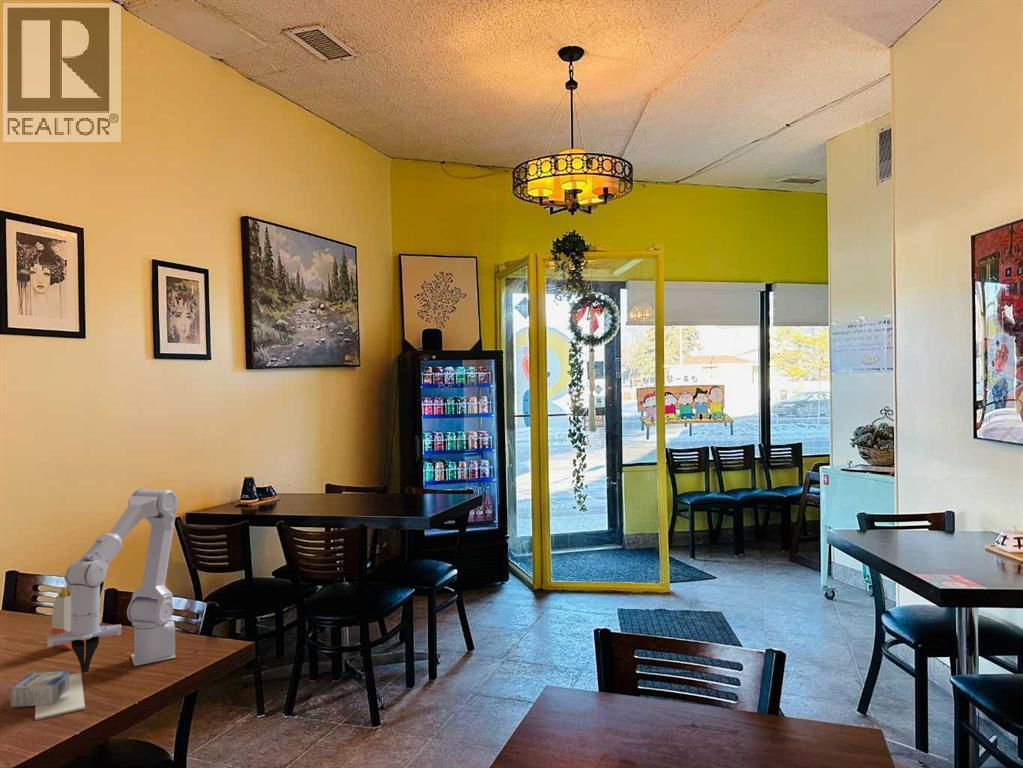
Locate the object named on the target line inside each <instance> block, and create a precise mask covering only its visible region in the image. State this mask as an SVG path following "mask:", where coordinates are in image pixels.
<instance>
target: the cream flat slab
mask: <svg viewBox="0 0 1023 768" xmlns="http://www.w3.org/2000/svg"><path fill="white" fill-rule="evenodd" d="M85 704H86V703H85V694H84V686H83V678H82V673H81V672H78V673H73V674H69V690H67V691H66V692H65V693H64V694H63V695H62V696H60V697H59V698H58V699H57V700H56V701H55V702H54V703H53V704H50V705H36V706H35V713H34V714H35V715H34V721H40V720H44V719H48V718H53V717H57V716H62V715H67V714H71V713H75V712H79V711H84V710H86V705H85Z"/></svg>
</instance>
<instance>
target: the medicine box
mask: <svg viewBox="0 0 1023 768" xmlns="http://www.w3.org/2000/svg"><path fill="white" fill-rule="evenodd" d="M69 675H70V671H69V670H65V671H47V672H31V673H29V674H27V675H25V677H23V678H22V679H20V681H18V682H17V683H15V684H14V685H13V686H11V687H10V693H9V697H10V698H9V699H10V707H11V708H18V707H20V708H21V707H33V706H34V707H36V705H50V704H53V703H54V702H55V701H56V700H57V699H58V698H59V697H60V696H62V695H63V694H64V693H65V692H66V691H67V690H69Z"/></svg>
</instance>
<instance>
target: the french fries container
mask: <svg viewBox="0 0 1023 768" xmlns="http://www.w3.org/2000/svg"><path fill="white" fill-rule="evenodd" d="M52 607H53V608H52V616H51V617H52V619H51V631H50V632H51V634H50V636H53V635H57V634H61V633H65V632H69V631H71V593H70V591H69V586H68V584H67V583H66V587H65V588H63V587H62V588H61V591H59V592H57V595H56V596H55V599H54V601H53V606H52ZM84 645H85V646H86V640H84ZM55 646H56V647H57V648H60V649H65V650H72V651H74V650H73V649H72V644H71V643H65V644H59V645H55Z"/></svg>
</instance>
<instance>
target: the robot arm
mask: <svg viewBox="0 0 1023 768" xmlns="http://www.w3.org/2000/svg"><path fill="white" fill-rule="evenodd" d="M178 501H179V497H178V496H177V495H176V493H175V492H174V491H173V490H171V489H150V488H149V489H146V488H137V489H135V490H134V492H132V494H131V496H130V497H128V499H127V508H126V509H125V510H124V511H123V513H122V514H121V516H120V517H119V519H118V520H117V521H116V523H115V524H114V526H113V527H112V528H111V529H110V532H108V533H103V534H101V535H99V536H98V537H97V538H96V539H95V542H93V544H92V545H91V546H90V548H89V549H88V550H87V551H86V552H85V554H83V556H82V557H81V558H80V559H78V560H75V561H73V562H72V563H71V564H70V565H69V566H68V567H67V569H66V572H65V574H64V576H63V577H64V582H65V583H66V585H67V584H68V586H69V591H70V593H71V631H69V632H65V633H61V634H57V635H53V636H51V635H48V636H46V637H47V638H46V639H47V640H46V643H47V644H46V645H47V646H46V647H47V648H52V647H54V646H56V645H59V644H65V643H71V644H72V649H73V650H72V649H71V650H72V651H73V652H74V654H75V656H76V658H77V660H78V662H79V666H80V673H81V674H84V673H89V670H90V665H91V661H92V659H93V656H94V654H95V652H96V650H97V648H98V646H99V643H100V640H99V638H105V637H110V636H115V635H116V636H121V635H122V624H121V623H120V624H114V625H111V624H110V625H100V620H101V619H100V618H101V617H100V616H101V611H100V609H101V606H100V605H101V595H100V594H101V584H102V583H103V582H104V581H105V579H106V578H107V577H106V576H107V573H108V570H109V568H110V564H111V563H112V561H113V560H114V559H115V557H117V555H118V554H119V553H120V552H121V550H122V549H123V541H124V539H125V538H126V537H127V536H128V535H129V534H130V532H131V531H132V530H133V529H134V528H135V527H136V526H137V525H138V524H139V523H140V522H141V521H142V520H143V519H145V520H147V522H148V523H149V524H150V526H151V528H150V534H149V538H148V539H149V540H148V546H147V551H146V559H145V564H144V571H143V576H142V583H141V586H140V587H138V589H136V590H135V591H134V592H133V593H132V594H131V596H132V597H131V600H130V602H129V604H128V606H127V608H126V610H127V611H126V615H127V619H128V620H129V621H130V622H131V626H133V627H134V644H133V645H134V648H133V649H134V650H133V651H134V653H133V654H131V655H130V657H131V660H132V664H133V665H134V667H136V666H140V665H146V664H152V663H156V662H162V661H166V660H172V659H175V658H176V628H175V627H176V626H175V621H174V620H170V619H171V618H172V616H173V613H174V605H173V596H174V595H173V593H172V592H171V590H169V589H168V588H167V587H166V579H167V573H168V567H169V560H170V553H171V547H172V541H173V534H174V529H175V521H176V516H177V509H178V503H179V502H178ZM84 640H86V644H85V645H84Z"/></svg>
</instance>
